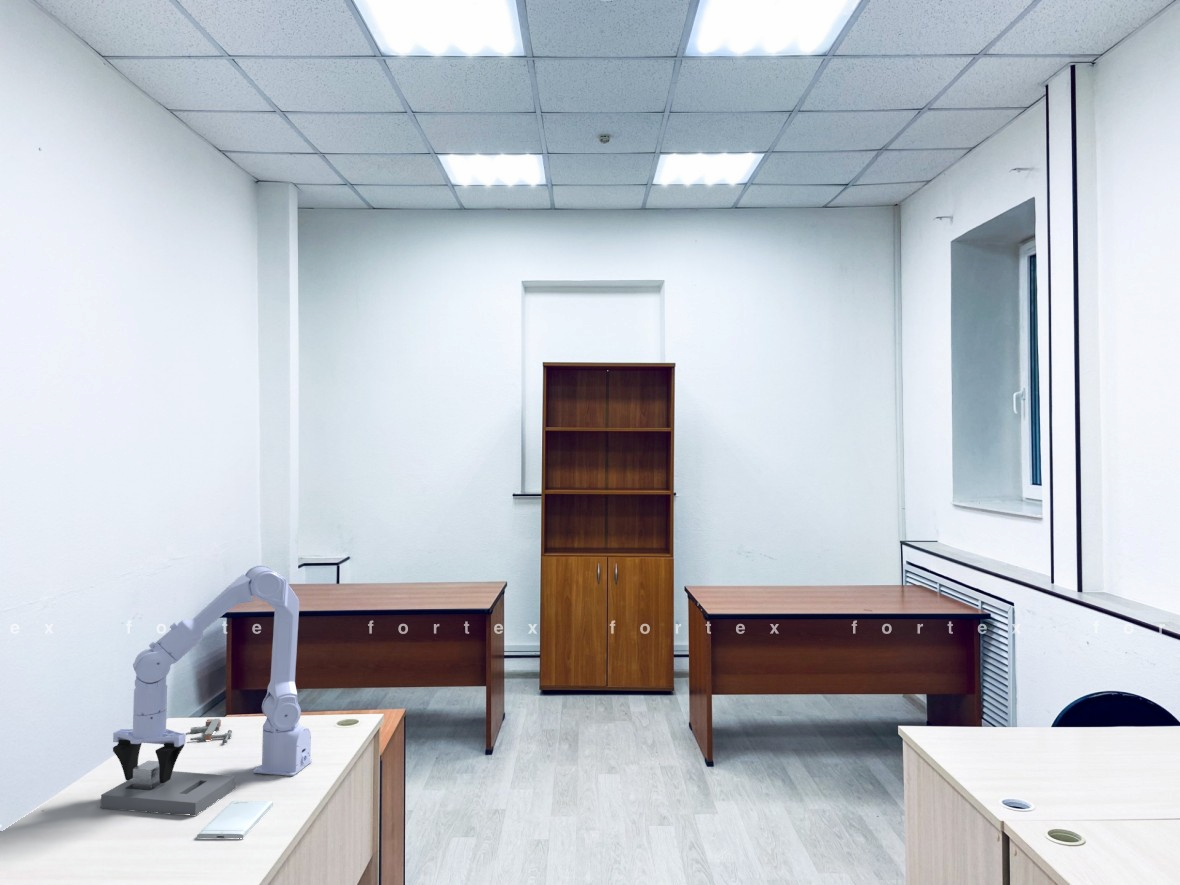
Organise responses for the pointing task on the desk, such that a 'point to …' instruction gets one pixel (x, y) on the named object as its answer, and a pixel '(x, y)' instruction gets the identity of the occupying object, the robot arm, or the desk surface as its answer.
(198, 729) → the clamp
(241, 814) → the hard drive
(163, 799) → the plate
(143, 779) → the square bit
